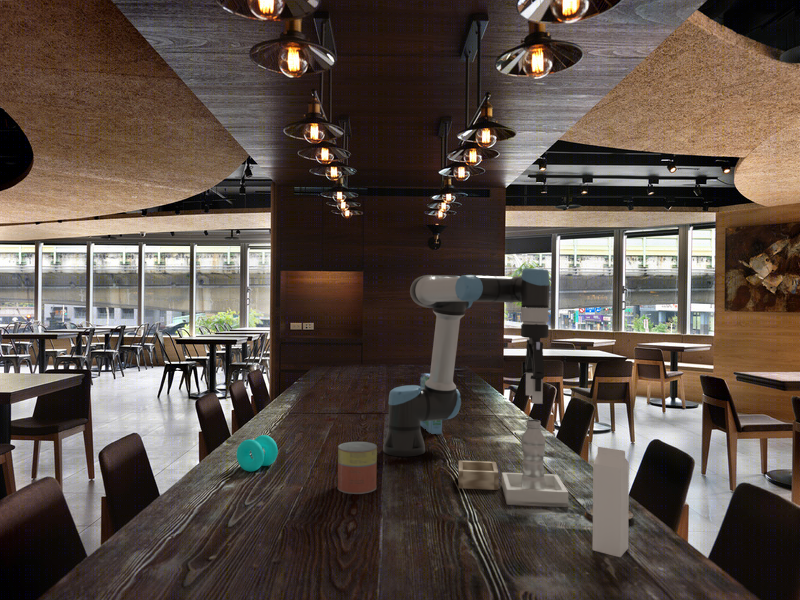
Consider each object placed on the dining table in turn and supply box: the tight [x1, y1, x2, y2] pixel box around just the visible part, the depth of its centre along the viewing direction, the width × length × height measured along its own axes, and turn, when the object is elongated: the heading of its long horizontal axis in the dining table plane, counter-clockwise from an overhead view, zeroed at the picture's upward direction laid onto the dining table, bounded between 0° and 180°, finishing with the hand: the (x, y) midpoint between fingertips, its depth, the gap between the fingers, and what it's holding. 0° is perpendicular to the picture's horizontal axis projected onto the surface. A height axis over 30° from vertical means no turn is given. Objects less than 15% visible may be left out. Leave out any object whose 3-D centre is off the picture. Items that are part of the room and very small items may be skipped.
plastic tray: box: [501, 472, 569, 508], centre depth 161 cm, size 16×16×4 cm
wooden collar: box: [457, 460, 499, 491], centre depth 172 cm, size 11×11×5 cm
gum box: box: [419, 373, 443, 435], centre depth 246 cm, size 20×5×23 cm, turn 13°
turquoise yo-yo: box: [236, 434, 279, 473], centre depth 185 cm, size 10×10×10 cm
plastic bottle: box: [521, 419, 546, 490], centre depth 161 cm, size 6×7×20 cm
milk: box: [592, 446, 630, 558], centre depth 126 cm, size 6×6×22 cm
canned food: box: [337, 441, 378, 495], centre depth 166 cm, size 11×11×12 cm
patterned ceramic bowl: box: [584, 504, 635, 522], centre depth 145 cm, size 12×12×8 cm
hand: (533, 399), depth 161 cm, fingers open, 13 cm apart
